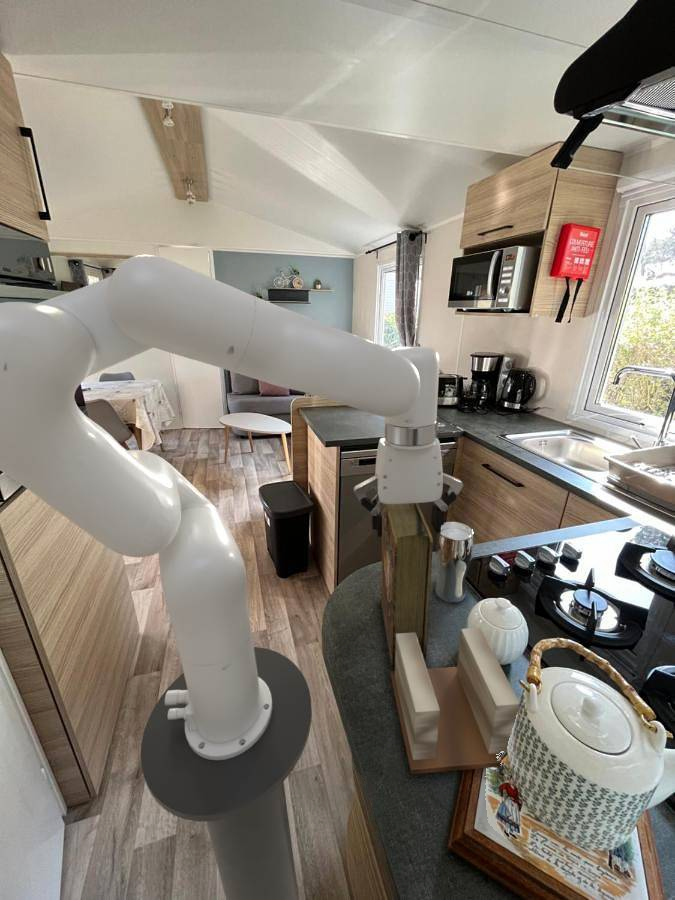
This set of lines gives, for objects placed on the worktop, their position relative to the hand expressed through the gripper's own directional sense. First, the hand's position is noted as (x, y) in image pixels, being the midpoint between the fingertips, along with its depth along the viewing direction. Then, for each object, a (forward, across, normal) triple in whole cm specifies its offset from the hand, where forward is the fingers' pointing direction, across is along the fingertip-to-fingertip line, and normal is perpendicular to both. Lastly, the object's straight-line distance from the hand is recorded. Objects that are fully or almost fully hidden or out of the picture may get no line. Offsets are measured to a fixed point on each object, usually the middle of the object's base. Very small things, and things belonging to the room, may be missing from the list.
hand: (407, 530), depth 63 cm
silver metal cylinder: (+22, -12, -9) cm, 26 cm away
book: (+22, +1, 0) cm, 22 cm away
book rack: (+21, -3, +16) cm, 27 cm away
